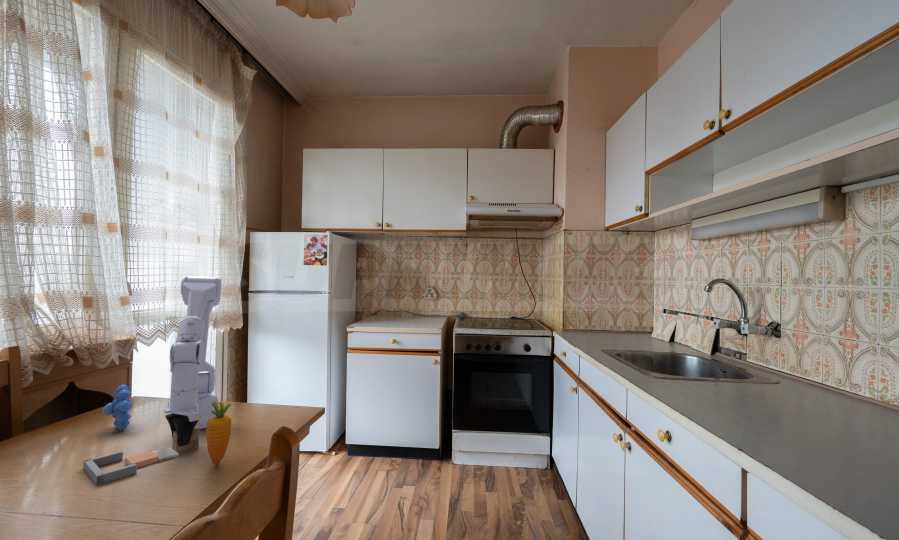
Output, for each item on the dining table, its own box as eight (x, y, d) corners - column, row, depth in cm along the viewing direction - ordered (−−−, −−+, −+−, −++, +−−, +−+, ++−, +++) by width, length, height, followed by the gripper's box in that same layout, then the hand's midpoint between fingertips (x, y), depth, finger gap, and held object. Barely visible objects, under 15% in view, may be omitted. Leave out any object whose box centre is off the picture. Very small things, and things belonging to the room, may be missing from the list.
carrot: (233, 463, 91) (237, 399, 92) (214, 472, 87) (218, 405, 87) (218, 459, 93) (221, 396, 93) (198, 468, 88) (202, 402, 89)
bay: (121, 458, 92) (121, 450, 92) (136, 473, 85) (136, 464, 85) (83, 468, 86) (83, 460, 86) (96, 485, 80) (97, 476, 80)
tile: (150, 456, 94) (151, 450, 94) (158, 462, 91) (158, 456, 91) (124, 463, 90) (125, 457, 90) (131, 470, 87) (132, 463, 87)
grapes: (98, 425, 111) (101, 383, 111) (128, 420, 116) (131, 380, 116) (102, 438, 103) (105, 392, 103) (134, 431, 108) (137, 388, 108)
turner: (191, 443, 101) (192, 423, 102) (201, 449, 98) (202, 429, 98) (150, 454, 94) (151, 433, 94) (159, 461, 91) (160, 440, 91)
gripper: (155, 386, 98) (151, 440, 98) (177, 398, 90) (173, 457, 89) (186, 381, 104) (183, 432, 104) (210, 391, 96) (207, 447, 95)
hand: (181, 443), depth 97 cm, fingers closed on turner, 2 cm apart
